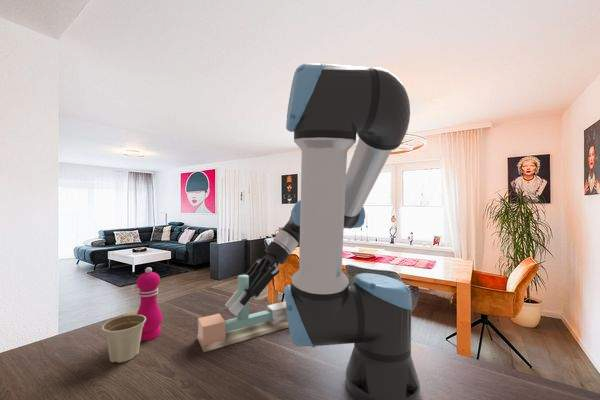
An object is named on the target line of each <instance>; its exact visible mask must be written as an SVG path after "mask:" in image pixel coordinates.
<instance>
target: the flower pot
mask: <svg viewBox="0 0 600 400" xmlns="http://www.w3.org/2000/svg"><path fill="white" fill-rule="evenodd" d="M145 321H146V317H145V316H143V315H136V314H127V315H122V316H118V317H115V318H112V319H109V320H108V321H106V322H105V323H104V324H102V325H101V330H102V331H103V333H104V336H105V338H106V344H107V351H108V352H107V353H108V356H109V361H110V363H118V364H119V363H125V362H128V361H131V360H132V359H134V358H135V357H136V356H137V355H139V352H140V345H141V341H140V340H141V334H142V328H143V326H144V323H145Z"/></svg>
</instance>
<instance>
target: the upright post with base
mask: <svg viewBox="0 0 600 400" xmlns="http://www.w3.org/2000/svg"><path fill="white" fill-rule="evenodd" d="M248 288H249V276H248V275H245V274H239V275H237V290H238V298H239V297H240V296H241V294H242V293H243V292H244V291H245V289H248ZM245 292H246V291H245ZM246 293H247V292H246ZM249 301H250V300H249ZM249 301H248V302H247V303H246V305H245V306H244V307H243V308H242V310H241V311H240V312H239V313H238V315H237V316H236V317H233V318H229V319H224V320H225V333H226V332H230V331H233V330H237V329H241V328H245V327H248V326H252V325H256V324H259V323H263V322H267V321H271V320H272V311H270V310H267V309H266V310H262V311H258V312H253V313H249V310H250V307H249V304H250V303H249Z"/></svg>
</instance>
